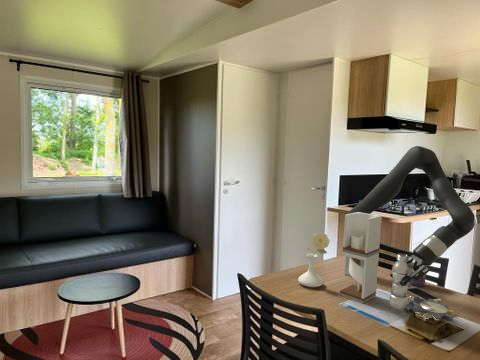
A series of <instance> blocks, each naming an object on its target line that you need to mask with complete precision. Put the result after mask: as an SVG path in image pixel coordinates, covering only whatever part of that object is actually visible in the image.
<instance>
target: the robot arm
mask: <svg viewBox="0 0 480 360" xmlns="http://www.w3.org/2000/svg"><path fill="white" fill-rule="evenodd" d="M415 169H417V170H421V171H422V172H424V173H425V174H426V175H427V177H428V178H429V180H430V182H431V187H432V191H433V195H434V196H435V198H436V199H437V201H438V202H439V204H440V205H441V207H442V208H443V209H444V210H446V211H447V212H448V214H449V216H450V217H451V221H450V223H448V224H447V225H445V226H444V225H443V226H440V227H438V228H437V229H436V230H435V231H434V232H433V233H432V234H431V235H430V236H428V237H426V238H425V239H424V240H422V242H421V243H419V244H418V245H417V246H416V247H415V248H414V249H413V250H412V255H410V256H408V255H407V254H406V253H404V254H405V255H407V256H408V261H407V263H408V265H409V267H410V268H409V272H408V274H407V275H406V276H404V277H403V278H402V279H401V280H400V281H399V283H400V284H401V285H402V286H405V285H406V284H407V283H408V284H409V281H410V280H415V281H417V280H419V279H420V278H421V277H423V276H424V275H425V274H426V275H427V274H428V273H429V272H430V270H429V268H428V267H430V266H431V265H433V264H434V263H435V262H436V261H438V259H439V258H441V256H442V255H444V254H445V252H446V251H447V250H448V249H449V248H450V247H452V246H453V245H454V244H455V243H456V242H457V241H458V240H460V239H462V238H464V237H465V236H467V235H468V234H469V233H471V232H472V230H473V229H474V228H475V227H476V226H475V225H476V218H475V217H476V216H475V214H474V212H473V210H472V209H471V207H470V206H469V205H468V204H467V203H466V202H465V201H463V199H462V198H461V197H460V195H459V194H458V192H457V190H456V189H455V188H454V187H453V185H452V184H451V182H450V180H449V179H448V176H447V175H446V174H445V171H444V169H443V167H442V164H441V163H440V160H439V159H438V157H437V154H436V152H435V151H433V150H432V149H430V148H426V147H425V146H424V147H423V146H420V145H416V146H413V147H410V148H409V149H408V150H407V151H406V153H405V154H404V155H403V156H402V157H401V159H400V160H399V161H398V162H397V163H396V165H395V166H394V167H393V168H392V169H391V170H390V171H389V173H388V174H386V176H385V177H384V178H382V179H381V180H380V181H379V182H378V183H377V184H376V186H374V187H373V189H371V191H369V193H368V194H367V195H366V196H365V197H364V198H363V199H362V200H361V201H360V202H359V203H358V204H356V205H355V206H354V207H352V208H351V209H350V210H349V211H348V212H347V213H346V214H351V213H356V212H361V213H367V214H372V213H374V212H375V211H377V210H378V209H380V208H382V207H384V206H386V205H387V204H389V203H390V202H392V200H393V199H394V198H395V197H397V195H398V194H400V192H401V190H402V186H403V184H404V181H405V179H406V177H407V176H408V175H410V173H411V172H413V171H414V170H415ZM344 262H345V264H344V275H345V276H348V277H352V276H351V275H350V273H349V263H350V257H349V256H345V261H344ZM426 265H427V266H426ZM418 274H419V275H418ZM417 275H418V276H417ZM389 276H390V277H391V278H392V279H393V275H392V272H391V273H390V274H389ZM416 276H417V277H416Z"/></svg>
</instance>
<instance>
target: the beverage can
mask: <svg viewBox="0 0 480 360" xmlns="http://www.w3.org/2000/svg"><path fill="white" fill-rule="evenodd" d="M426 267H428V266H427V265H426ZM418 275H419V274H418ZM418 275H417V276H418ZM426 275H427V274H425V275H424V276H423V277H421V278H420V279H419V280H417V281H415V280H410V281H409V282H408V284H410V285H411V286H413V287H424V286H425V285H426V277H427V276H426ZM417 276H416V277H417Z"/></svg>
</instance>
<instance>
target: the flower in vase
mask: <svg viewBox="0 0 480 360" xmlns="http://www.w3.org/2000/svg"><path fill="white" fill-rule="evenodd" d="M330 241H331V240H330V239H329V236H328V235H327V234H326V233H324V232H321V231H319V232H316V233H313V234H312V236H311V244H312V247H314V248H315V249H316V250H315V251H314V250H313V249H310V248H307V250H309V251H311V252H312V253H307V254H306V257H307V259H308V270H307V271H306V272H304V273H303V274H301V275H300V276H299V277H298V279H297V281H298V284H300V285H303V286H305V287H309V288H317V287H321V286H323V285H324V280H323V279H322V277H321V276H319V275H318V274H317V273H316V272H315V262H316V259H317V258H318V254H316V253H317V252H318V253H319V254H321V255H325V254H328V252H327V250H325V249H327V248H328V246H329V243H330Z"/></svg>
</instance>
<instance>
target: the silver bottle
mask: <svg viewBox="0 0 480 360" xmlns="http://www.w3.org/2000/svg"><path fill="white" fill-rule="evenodd" d="M405 254H406V253H397V255H396V260H397V261H395V262H394V264H393V265H392V267H391V269H392V270H391V273H392V275H393V278H392V283H391V284H392V285H391V291H390V295H389V304H390V306H391V307H393V308H395V309H398V310H404V309H405V308H406V307H407V305H408V298H409V296H408V294H409V292H408V287H409V282H408V283H407V284H406V285H405V286H402V285H401V284H400V283H399V281H400V280H401V279H402V278H403V277H404V276H406V275H407V274H408V272H409V268H410V267H409V265H408V263H407V261H408V254H406V255H405Z"/></svg>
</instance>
